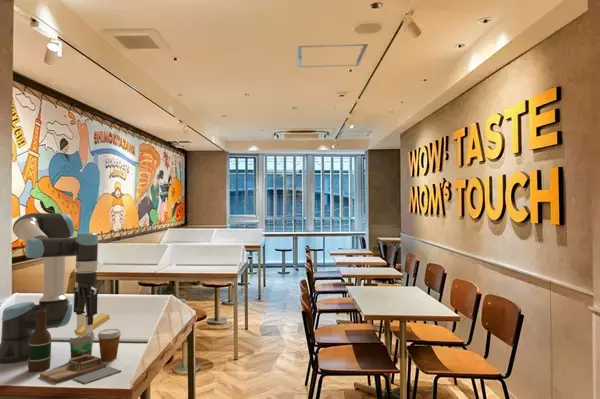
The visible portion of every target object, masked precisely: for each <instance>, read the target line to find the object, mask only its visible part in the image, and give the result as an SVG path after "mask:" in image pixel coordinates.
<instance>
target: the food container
mask: <svg viewBox="0 0 600 399" xmlns="http://www.w3.org/2000/svg"><path fill="white" fill-rule="evenodd" d="M95 339H96V337H95V333H94V332H93V333H88V334H86V335H85V336H83V337H82V336H77V337H75V338H74V337H73V338H72V337H70V339H69V341H68V344H69V347H70V359H73V358H77V357H80V356H84V355H87V354H89V355H92V352H93V346H94V345H93V344H94V343H93V342H94V340H95Z"/></svg>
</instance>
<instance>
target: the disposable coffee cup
mask: <svg viewBox="0 0 600 399" xmlns="http://www.w3.org/2000/svg"><path fill="white" fill-rule="evenodd" d="M121 336H122V332H121V329H118V328H108V329H104V330H103V329H102V330H100V331H98V334H97V338H98V346H99V354H100V355H99V356H100V358H101V362H102V361H103V362H111V361H114V360H116V359H117V357H118V356H117V355H118V350H119V343H120V340H121V339H120V337H121Z"/></svg>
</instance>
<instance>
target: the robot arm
mask: <svg viewBox="0 0 600 399" xmlns="http://www.w3.org/2000/svg"><path fill="white" fill-rule="evenodd" d="M74 225H75V224H74V221H73V219H72V217H71V215H70V214H68V213H60V212H57V213H55V212H54V213H53V212H50V213H49V212H31V213H27V214H24V215H22V216H19V217H18V218H17V219H16V220H15V221H14V222H13V226H12V232H13V234H14V235H15V237H16V238H18V239H20V240H22V241H23V242H24V243H25V244H24V253H25V257H26V258H28V259H32V258H33V259H40V258H43V293H42V297H41V298H40V299H39V300H38V304H36V303H35V302H34V301H28V302H27V301H26V302H20V303H15V304H13V305H9V306H6V307H5V308H4V309H3V311H2V317H1V321H2V322H1V336H0V339H1V340H0V364H9V363H11V364H12V363H17V362H18V363H19V362H23V361H28V356H29V340H30V337H31V335H32V333H33V332H34V331H35V327H36V319H37V313H36V312H37V311H38V310H46V311H47V313H46V327H47V330H49V329H58V328H60V327H65V326H67V325H68V324H69V322H70V320H71V317H72V314H73V313H75V314H76V329H77V328H79V327H81V326H82V325H84V324H85V334H88V333H94V332H93V331H94V330H93V318H94V316H95V315H97V314H98V297H99V296H98V294H99V288H95V285H94V283H96V282H97V280H98V272H97V271H98V253H99V252H98V250H99V247H98V246H99V235H98V233H97V232H80V233H77V234H76V236H75V237H73V236H74V232H75V226H74ZM66 257H75V264H74V265H75V272H76V273H75V279H74V282H75V283H76V284H78V285H77V286H75V287H73V293H74V294H73V303H72V301H70V300H69V297H68V296H67V295H65V282H66V281H65V280H66V279H65V277H66V276H65V275H66V274H65V273H66Z"/></svg>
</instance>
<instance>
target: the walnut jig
mask: <svg viewBox="0 0 600 399" xmlns="http://www.w3.org/2000/svg"><path fill="white" fill-rule="evenodd" d="M104 368H107V363H104V362H102V360H101V357H98V356H95V355H92V354H91V355H89V354H87V355H84V356H80V357H77V358H73V359H71V358H70V359H69V360H68V364H67V365H63V366H59V367H57V368H52V369H48V370H45V371H42V372H39V378H41V379H43V380H46V381H49V382H50V383H53V382H54V383H53V384H55V383H57V384H59V382H60V383H62V381H63V382H66V381H68V380H73V378H76V377H79V376H82V375H85V374H88V373H91V372H94V371H97V370H101V369H104Z"/></svg>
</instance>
